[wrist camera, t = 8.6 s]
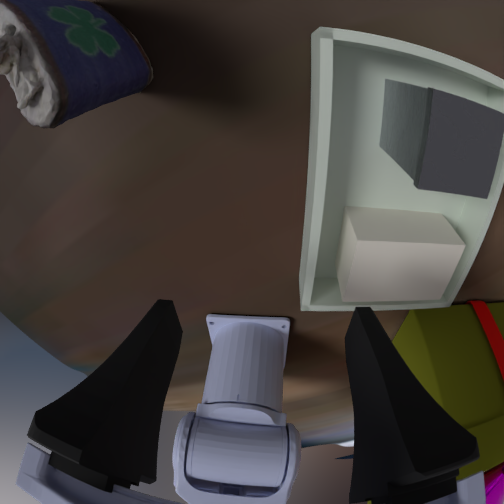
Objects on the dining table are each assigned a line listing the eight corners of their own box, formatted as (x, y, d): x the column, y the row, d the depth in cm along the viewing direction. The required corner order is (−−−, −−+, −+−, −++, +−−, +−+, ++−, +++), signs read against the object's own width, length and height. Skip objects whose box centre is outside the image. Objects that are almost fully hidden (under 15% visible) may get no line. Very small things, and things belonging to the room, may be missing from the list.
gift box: (355, 393, 37) (361, 546, 17) (377, 303, 25) (409, 575, 5) (468, 368, 33) (495, 500, 14) (524, 275, 21) (594, 458, 1)
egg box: (423, 265, 21) (440, 299, 18) (334, 263, 21) (342, 301, 18) (441, 213, 18) (465, 245, 15) (344, 205, 18) (357, 240, 15)
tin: (437, 156, 15) (487, 199, 10) (377, 147, 16) (417, 189, 11) (446, 92, 12) (506, 114, 8) (383, 76, 13) (433, 88, 8)
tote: (435, 278, 22) (449, 306, 19) (299, 277, 23) (300, 310, 21) (489, 79, 11) (521, 89, 8) (310, 34, 12) (320, 26, 9)
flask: (68, 20, 11) (-55, 37, 3) (95, -9, 10) (-28, -17, 2) (133, 101, 16) (14, 161, 7) (166, 72, 14) (47, 103, 6)
